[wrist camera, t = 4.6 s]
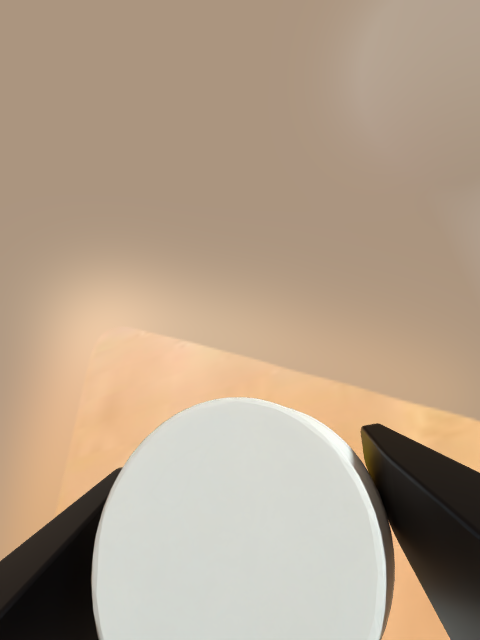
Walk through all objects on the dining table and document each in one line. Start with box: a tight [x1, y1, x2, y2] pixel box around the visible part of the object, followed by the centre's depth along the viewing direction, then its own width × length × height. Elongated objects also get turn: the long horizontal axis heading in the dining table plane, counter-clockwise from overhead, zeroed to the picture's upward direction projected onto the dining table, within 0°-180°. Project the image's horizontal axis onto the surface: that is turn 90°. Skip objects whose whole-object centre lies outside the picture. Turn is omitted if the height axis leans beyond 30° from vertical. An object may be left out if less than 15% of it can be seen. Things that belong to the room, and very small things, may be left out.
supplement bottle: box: [91, 397, 395, 640], centre depth 9 cm, size 5×5×10 cm
